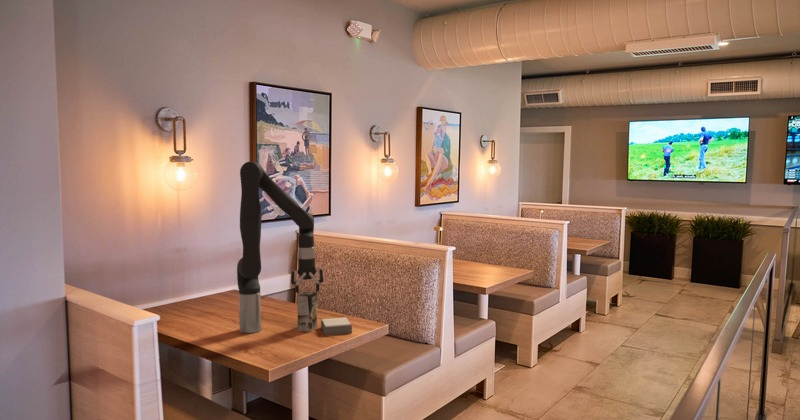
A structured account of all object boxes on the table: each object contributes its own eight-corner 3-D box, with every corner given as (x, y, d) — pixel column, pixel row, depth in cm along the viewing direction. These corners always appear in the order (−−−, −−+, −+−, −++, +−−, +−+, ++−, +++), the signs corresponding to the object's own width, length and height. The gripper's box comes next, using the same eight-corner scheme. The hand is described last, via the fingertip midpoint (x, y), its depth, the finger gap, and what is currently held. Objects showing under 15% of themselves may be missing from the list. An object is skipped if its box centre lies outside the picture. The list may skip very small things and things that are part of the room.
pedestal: (324, 335, 244) (324, 326, 244) (321, 327, 256) (320, 319, 256) (351, 333, 248) (351, 324, 247) (347, 325, 259) (346, 317, 259)
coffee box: (310, 332, 249) (310, 296, 248) (297, 331, 251) (296, 295, 249) (317, 326, 258) (317, 291, 257) (304, 325, 259) (304, 291, 258)
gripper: (291, 259, 246) (292, 295, 248) (323, 257, 250) (324, 293, 252) (289, 256, 253) (290, 291, 255) (321, 254, 257) (322, 289, 259)
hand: (307, 292), depth 253 cm, fingers open, 8 cm apart
